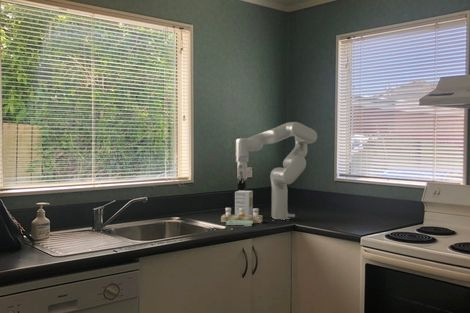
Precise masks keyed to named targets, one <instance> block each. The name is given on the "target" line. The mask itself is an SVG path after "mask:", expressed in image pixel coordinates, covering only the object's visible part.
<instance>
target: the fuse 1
mask: <svg viewBox="0 0 470 313" xmlns="http://www.w3.org/2000/svg"><path fill="white" fill-rule="evenodd" d="M225 215H226V216H231V215H232V208H231V207H225Z"/></svg>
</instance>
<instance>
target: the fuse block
mask: <svg viewBox="0 0 470 313" xmlns="http://www.w3.org/2000/svg"><path fill="white" fill-rule="evenodd" d="M263 218H264V217H263V215H259V214H258V217H253V215H245V216H244V217H239V215H235V214H231V216H226V214H222V215H221V217H220V223H221V222H227V221H228V220H243V221H253V223H261V222H262V223H263V220H264V219H263ZM262 223H261V224H262Z"/></svg>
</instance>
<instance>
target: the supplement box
mask: <svg viewBox="0 0 470 313" xmlns="http://www.w3.org/2000/svg"><path fill="white" fill-rule="evenodd" d="M253 192H254V191H253V190H237V191H234V215H239V208H245V212H244V213H245V215H253V206H254V205H253V204H254V203H253V202H254V200H253V198H254V196H253V195H254V193H253Z"/></svg>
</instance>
